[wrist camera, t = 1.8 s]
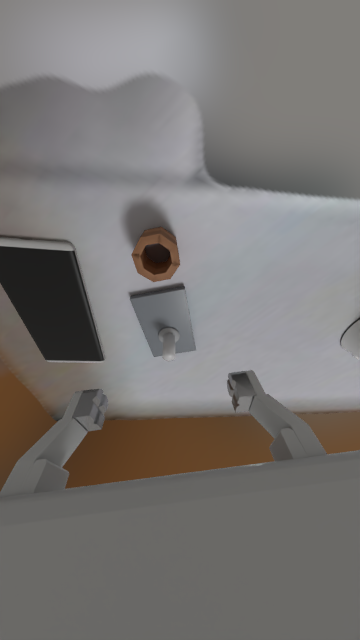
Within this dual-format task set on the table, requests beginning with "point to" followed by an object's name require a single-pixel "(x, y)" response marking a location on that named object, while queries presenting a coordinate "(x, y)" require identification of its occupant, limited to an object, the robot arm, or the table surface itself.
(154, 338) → the post stand
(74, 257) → the smartphone
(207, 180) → the table surface
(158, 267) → the ring
